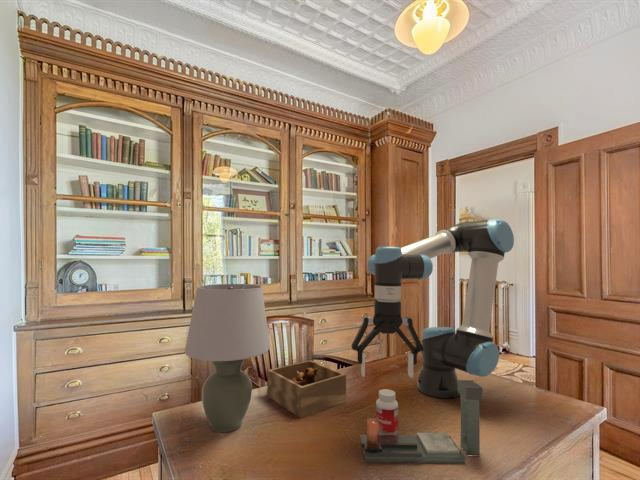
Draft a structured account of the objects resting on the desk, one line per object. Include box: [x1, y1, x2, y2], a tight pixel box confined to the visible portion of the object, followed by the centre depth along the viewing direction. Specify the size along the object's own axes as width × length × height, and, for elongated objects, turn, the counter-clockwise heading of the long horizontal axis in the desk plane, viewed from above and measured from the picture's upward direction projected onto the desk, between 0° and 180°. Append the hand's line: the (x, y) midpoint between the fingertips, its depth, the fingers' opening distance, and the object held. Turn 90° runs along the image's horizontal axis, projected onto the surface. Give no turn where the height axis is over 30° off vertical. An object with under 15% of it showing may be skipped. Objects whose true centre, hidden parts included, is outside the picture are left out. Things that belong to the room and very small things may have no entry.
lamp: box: [184, 283, 271, 433], centre depth 98 cm, size 24×24×40 cm
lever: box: [364, 417, 382, 452], centre depth 82 cm, size 4×3×7 cm
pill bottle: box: [375, 388, 399, 435], centre depth 94 cm, size 6×6×11 cm
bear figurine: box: [292, 367, 317, 386], centre depth 115 cm, size 14×15×12 cm
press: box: [360, 379, 483, 464], centre depth 85 cm, size 30×10×17 cm, turn 91°
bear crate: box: [266, 359, 347, 419], centre depth 115 cm, size 20×19×9 cm
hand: (386, 375), depth 95 cm, fingers open, 13 cm apart
